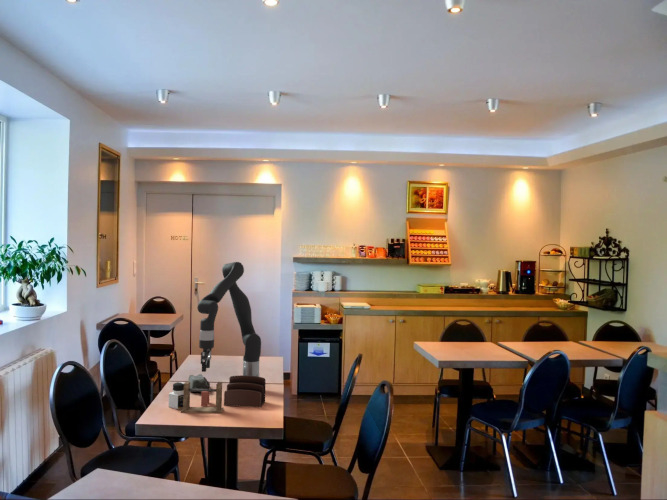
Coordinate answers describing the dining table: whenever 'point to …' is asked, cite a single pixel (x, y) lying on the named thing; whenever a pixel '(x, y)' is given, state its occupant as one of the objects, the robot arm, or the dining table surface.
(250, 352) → the robot arm
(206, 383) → the rock
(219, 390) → the rail stand
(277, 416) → the dining table surface
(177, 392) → the medicine bottle
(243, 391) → the letter holder
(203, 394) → the pink u-shaped bracket
